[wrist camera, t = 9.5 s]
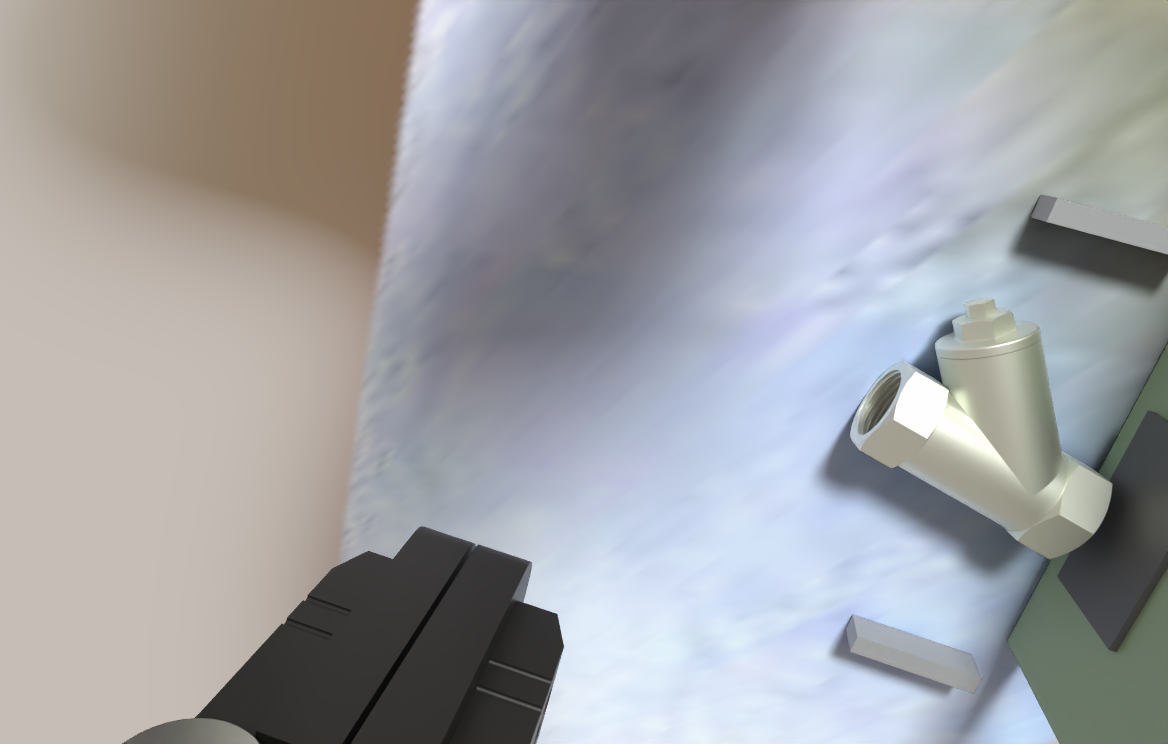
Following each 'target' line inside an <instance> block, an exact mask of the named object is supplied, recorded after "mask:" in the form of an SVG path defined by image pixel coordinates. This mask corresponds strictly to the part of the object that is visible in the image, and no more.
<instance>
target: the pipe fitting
mask: <svg viewBox="0 0 1168 744" xmlns="http://www.w3.org/2000/svg"><path fill="white" fill-rule="evenodd" d="M964 308H965V313H966V314H964V315H961V316H959V317H957V318H956V319H954V320H953V321H952V323H953V328H954V332H952V333H950V334H947V335H945V336H943V337H941V338H940V339H938V340H937V341H936V343H935V349H936V354H937V359H938V364H939V369H940V374H941V379H942V383H943V384H942V383H940V382H939V381H938V380H936V379H935V378H933V377H932V376H930V375H928V374H926V373H925V372H923V371H921V370H919V369H918V368H916V367H914V366H912V365H911V364H909V363H907V362H905V361H904V360H901V361H900V362H898V363H896V364H895V365H893V366H892V367H890V368H889V369H888V370H886V371H885V372H884V373H883V374H882V375H881V376H880V377H879V379H878V380H877V381H876V382H875V383H874V385H873V386H872V387H871V389H870V390H869V391H868V393H867V394H866V396H865V398H864V399H863V401H862V403H861V404H860V406H859V408H858V410H857V412H856V415H855V417H854V420H853V423H852V426H851V432H850V437H851V440H852V441H853V443H854V444H855V445H856V447H857V448H858V449H859V450H860V451H862V452H864V453H865V454H867V455H869V456H871V457H872V458H874V459H876V460H877V461H879V462H881V463H883V464H884V465H886V466H888V467H890V468H891V469H892V468H894V467H896V466H899V467H901V468H902V469H904V470H906V471H907V472H909V473H911V474H913V475H914V476H916V477H918V478H920V479H921V480H923V481H925V482H927V483H928V484H930V485H932V486H934V487H935V488H937V489H939V490H941V491H942V492H944V493H946V494H947V495H949V496H951V497H953V498H954V499H956V500H958V501H960V502H961V503H963V504H965V505H967V506H968V507H970V508H972V509H974V510H975V511H977V512H979V513H980V514H982V515H984V516H986V517H987V518H989V519H991V520H993V521H994V522H996V523H998V524H1000V525H1001V526H1003V527H1004V528H1005V529H1006V530H1007V532H1008V533H1009V534H1010V535H1011V536H1013V537H1014V538H1015V539H1016V540H1017V541H1018V542H1020V543H1022V544H1023V545H1025V546H1027V547H1029V548H1030V549H1032V550H1034V551H1036V552H1037V553H1039V554H1041V555H1042V556H1044V557H1046V558H1048V559H1052V558H1055V557H1059V556H1061V555H1064V554H1066V553H1068V552H1071V551H1073V550H1075V549H1076V548H1078V547H1079V546H1081V545H1082V544H1084V543H1085V542H1086V541H1087V540H1088V539H1090V538H1091V537H1092V536H1093V535H1094V533H1095V532H1096V531H1097V529H1098V528H1099V526H1100V525H1101V523H1102V521H1103V519H1104V517H1105V515H1106V513H1107V510H1108V507H1109V503H1110V499H1111V493H1112V485H1113V484H1112V483H1111V482H1110V481H1108V480H1107V479H1106V478H1104V477H1103V476H1102V475H1100V474H1099V473H1098V472H1096V471H1095V470H1093V469H1092V468H1090V467H1089V466H1087V465H1086V464H1084V463H1082V462H1081V461H1079V460H1077V459H1075V458H1074V457H1072V456H1070V455H1068V454H1067V453H1065V452H1063V451H1061V445H1060V440H1059V435H1058V429H1057V424H1056V418H1055V413H1054V407H1053V402H1052V396H1051V390H1050V385H1049V379H1048V373H1047V368H1046V362H1045V356H1044V351H1043V345H1042V339H1041V333H1040V328H1039V326H1038V325H1036V324H1034V323H1031V322H1023V321H1014V316H1013V313H1012V312H1011V311H1010V310H1008V309H1005V308H996V306H995V301H994V300H993V299H992V298H982V299H976V300H972V301H969V302H967V303H965V304H964Z"/></svg>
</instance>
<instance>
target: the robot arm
mask: <svg viewBox="0 0 1168 744" xmlns="http://www.w3.org/2000/svg"><path fill="white" fill-rule="evenodd" d="M531 568H532V562H530V561H527V560H524V559H521V558H518V557H515V556H512V555H509V554H506V553H503V552H499V551H496V550H493V549H490V548H487V547H484V546H481V545H477V546H476V545H475V544H474V543H471V542H468V541H465V540H462V539H459V538H456V537H453V536H450V535H447V534H444V533H441V532H438V531H435V530H432V529H429V528H426V527H423V526H422V527H419V528H418V529H417V530H416V531H415V532H414V534H413V535H412V536H411V537H410V539H409V540H408V541H407V542H406V544H405V545H404V546H403V547H402V549H401V550H400V551H399V552H398V554H397V555H396V556H395V557H394V559H391V558H388V557H385V556H382V555H379V554H376V553H373V552H370V551H367V552H365V553H363V554H361V555H359V556H357V557H355V558H353V559H351V560H349V561H347V562H345V563H342V564H340V565H338V566H336V567H334V568H332V569H331V571H330V572H329V573H328V574H327V575H326V576H325V577H324V578H323V579H322V580H321V581H320V583H319V584H318V585H317V586H316V587H315V588H314V589H313V590H312V591H311V592H310V593H309V595H308V597H307V599H306V601H302V602H301V603H300V604H299V605H298V607H297V608H296V609H295V610H294V611H293V612H292V613H291V614H290V615H289V616H288V618H287V620H286V623H285V624H281V625H280V626H279V627H278V629H277V630H276V631H275V632H274V633H273V634H272V635H271V636H270V637H269V638H268V639H267V640H266V641H265V642H264V644H263V645H262V646H261V647H260V648H259V649H258V650H257V651H256V652H255V653H254V654H253V656H252V657H251V658H250V659H249V660H248V661H247V662H246V663H245V664H244V666H242V668H241V669H240V670H239V671H238V672H237V673H236V674H235V675H234V676H233V677H232V679H231V680H230V681H229V682H228V683H227V684H226V685H225V686H224V687H223V688H222V689H221V690H220V692H219V693H218V694H217V695H216V696H215V697H214V698H213V699H212V700H211V701H210V702H209V703H208V705H207V706H206V707H205V708H204V709H203V710H202V711H201V712H200V713H199V714H198V715H197V716H196V717H195V718H193V719H182V720H177V721H172V722H167V723H164V724H161V725H158V726H155V727H152V728H150V729H147V730H145V731H143V732H141V733H139V734H137V735H135V736H134V737H132V738H130V739H129V740H127V741H126V742H124V743H122V744H536V743H537V740H538V736H539V733H540V729H541V726H542V722H543V719H544V715H545V712H546V708H547V705H548V701H549V698H550V694H551V691H552V687H553V683H554V680H555V676H556V673H557V669H558V666H559V662H560V659H561V655H562V652H563V648H564V645H563V640H562V635H561V630H560V625H559V620H558V615H557V614H555V613H552V612H549V611H546V610H543V609H541V608H538V607H535V606H532V605H529V604H526V603H523V601H524V597H525V593H526V589H527V585H528V581H529V577H530V573H531Z"/></svg>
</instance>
